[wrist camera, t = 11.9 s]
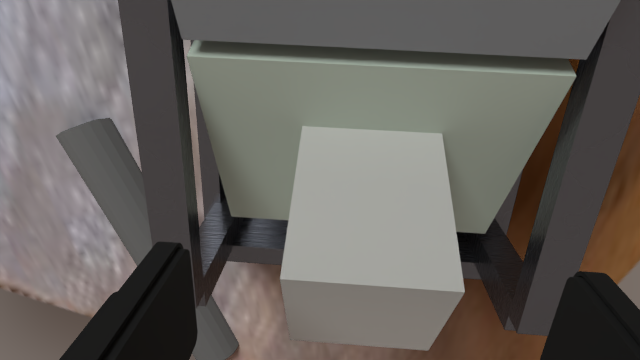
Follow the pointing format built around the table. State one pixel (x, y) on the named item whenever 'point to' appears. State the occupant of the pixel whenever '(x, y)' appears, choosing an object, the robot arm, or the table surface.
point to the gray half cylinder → (134, 214)
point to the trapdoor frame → (474, 248)
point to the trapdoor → (383, 84)
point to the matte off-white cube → (370, 240)
